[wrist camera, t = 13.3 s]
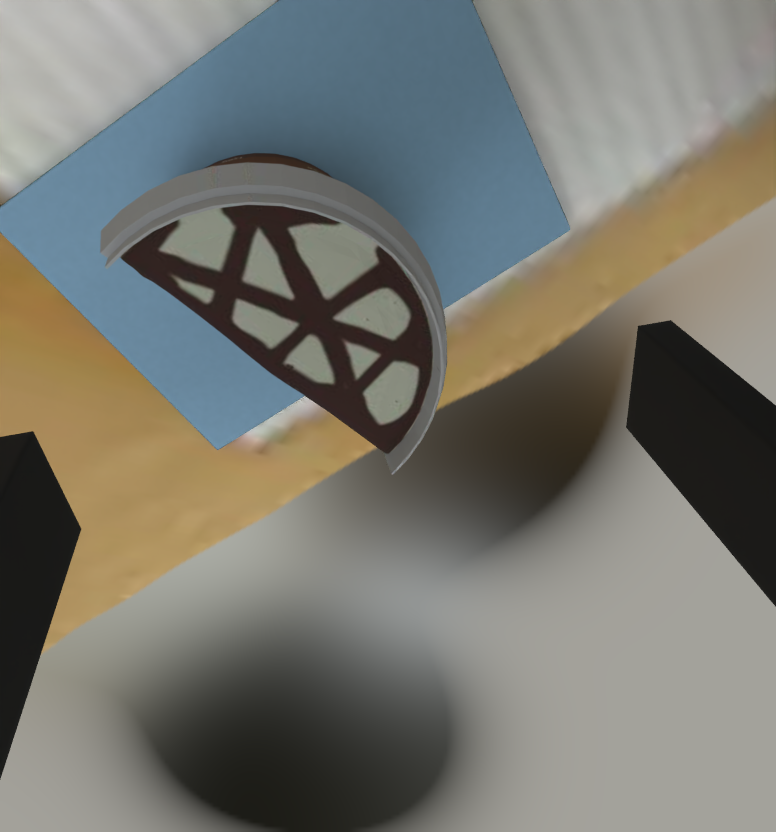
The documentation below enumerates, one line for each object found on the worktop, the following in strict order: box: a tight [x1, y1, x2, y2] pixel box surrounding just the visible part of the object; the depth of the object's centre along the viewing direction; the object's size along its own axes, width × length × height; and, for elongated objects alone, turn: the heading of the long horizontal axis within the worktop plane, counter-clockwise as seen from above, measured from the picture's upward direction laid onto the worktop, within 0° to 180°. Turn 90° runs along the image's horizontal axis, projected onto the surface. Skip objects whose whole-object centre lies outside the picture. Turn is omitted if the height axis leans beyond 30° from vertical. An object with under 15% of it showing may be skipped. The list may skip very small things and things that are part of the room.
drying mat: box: [0, 0, 570, 450], centre depth 28 cm, size 20×14×1 cm
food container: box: [100, 153, 447, 474], centre depth 24 cm, size 12×6×10 cm, turn 44°
